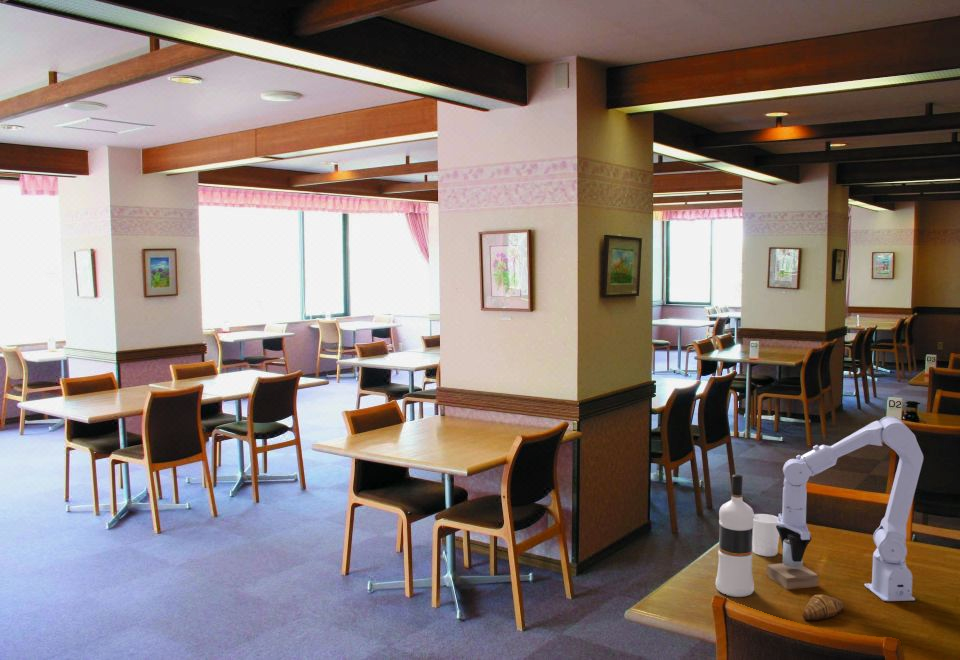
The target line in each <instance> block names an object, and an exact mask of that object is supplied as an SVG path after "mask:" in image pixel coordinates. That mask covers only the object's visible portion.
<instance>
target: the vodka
mask: <svg viewBox="0 0 960 660" xmlns="http://www.w3.org/2000/svg"><path fill="white" fill-rule="evenodd" d="M743 477H744V476H743V475H741V474H736V473H735V474H732V475H731V499H730V500H728V501H727V502H725V503H723V504H722V505H721V506H720V507H719V511H718V512H719V513H718V515H719V516H718V517H719V520H718V524H719V529H718V530H719V531H718V533H719V534H718V537H719V539H718V541H719V542H718V551H717V553H718V565H717V573H716V578H715V587H716V590H717V591H718V592H719V593H721V594H723V595H725V594H726V596H727V597H728V596H730V597H734V598H742V597H743V598H744V597H748V596H750V595H752V594H753V593H754V591H755V582H754V578H753V577H754V576H753V557H754V552H753V550H752V539H753V526H754V523H753V521H754V515H755V513H754V510H753V508H752V506H750V504H748V503H746V502H744V500H743V488H744V487H743V485H744V483H743V481H744V479H743Z"/></svg>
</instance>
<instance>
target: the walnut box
mask: <svg viewBox="0 0 960 660" xmlns="http://www.w3.org/2000/svg"><path fill="white" fill-rule="evenodd" d="M765 574H766V577H767V578H769V579H770V580H772V581H773V582H775V583H776V584H777V585H779V586H780V587H782V588H784V589H785V590H797V589H807V588H814V587H818V586H819V574H817V573H816V572H814V571H812V570H811V569H809V568H808V567H806V566H804V565H803V564H802V566H801V567H789V566H786V565H784V564H783V562H782V563H780V562H779V563H772V564H766V573H765Z"/></svg>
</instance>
